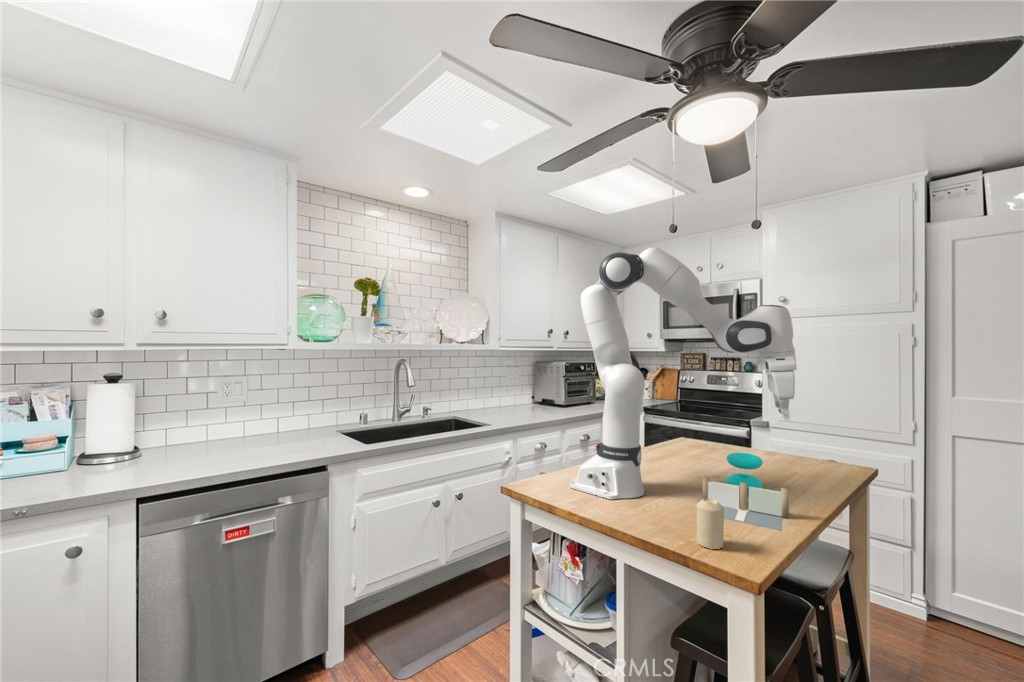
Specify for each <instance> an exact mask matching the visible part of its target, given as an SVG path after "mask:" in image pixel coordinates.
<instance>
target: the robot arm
mask: <svg viewBox="0 0 1024 682" xmlns="http://www.w3.org/2000/svg"><path fill="white" fill-rule="evenodd" d="M635 283H641V284H644V285H645V286H647V287H649V288H650V289H651V290H653V291H654V292H655V293H656V294H657V295H658V296H659V297H660V298H662V299H663V300H666V301H667V302H668V303H670V304H671V305H674V306H675V307H677V308H680V309H681V310H682V311H684V312H685V313H687V314H688V315H690V316H691V317H692V318H693V319H694V320H696V321H697V322H698V323H699V324H700V325H701V326H702V327H704V328H705V329H706V330H707V331H708V333H709V334H710V335H711V337H712V339H713V341H714V343H715V345H716V346H717V347H718V349H720V350H721V351H723V352H726V353H730V354H731V353H732V354H733V353H737V354H739V353H740V354H746V353H751V352H754V351H758V361H759V368H760V370H765V374H766V375H767V377H766V378H767V387H768V388H767V389H768V390H769V391H770V392H771V393H772V395H773V396H772V397H773V399H774V406H775V408H777V409H780V411H779V412H780V413H781V414H782V415H789V413H790V409H789V407H790V400H794V398H795V394H796V392H795V388H796V387H795V386H796V383H795V382H796V381H795V380H796V379H795V371H796V370H797V369H798V368H797V360H796V350H795V346H794V343H793V339H794V329H793V327H794V326H793V321H792V317H791V314H790V311H789V309H788V308H786V307H785V306H784V305H783V306H782V305H776V304H763V305H759V306H757V307H756V308H755V309H754V310H753V311H751V312H750V313H748V314H746V315H743V316H742V317H739V318H737V319H732V318H730V317H728V316H727V317H726V316H725V315H724V314H722V313H721V312H720V310H718V309H717V308H716V307H715V306H713V305H712V304H711V303H710V302H708V301H707V299H706V298H705V296H703V293H702V290H701V283H700V279H699V278H698V277H697V275H696V274H695V273H694V272H693V271H692V270H691V269H690V268H689V267H688V266H686V265H685V264H684V263H683V262H681V261H680V260H679V259H677V258H676V257H674V256H673V255H671V254H670V253H668V252H666V251H665V250H663V249H661V248H659V247H653V246H651V247H648V248H646V249H644V250H642V252H640V253H639V254H633V253H627V252H620V251H619V252H613V253H611V254H608V255H607V256H606V257H604V259H602V261H601V262H600V265H599V270H598V281H597V282H596V283H595V284H594V283H593V284H592V285H589V286H587V287H586V288H585V289H584V290H583V291H582V292H581V294H580V307H581V312H582V313H581V314H582V318H583V322H584V325H585V329H586V332H587V335H588V339H589V341H590V346H591V348H592V352H593V353H592V354H593V356H594V361H595V364H596V365H595V367H596V369H597V373H598V377H599V381H600V385H601V386H602V389H603V390H604V394H605V395H604V407H603V414H602V425H601V426H602V430H601V431H602V433H601V434H602V436H601V437H602V440H600V441H599V443H597V444H596V445H595V446H594V451H596V454H594V455H593V456H591V457H590V458H588V459H587V460H586V461H583V463H582V464H581V465H579V467H578V469H577V474H576V475H577V476H576V477H574V478H572V479H571V480H570V482H569V488H570V489H574V490H577V491H581V492H583V493H586V494H590V495H594V496H596V495H597V497H600V498H603V497H604V498H603V499H606V498H607V499H608V500H617V499H634V498H640V497H642V496H644V495H645V493H646V491H645V487H644V484H643V479H642V472H641V463H642V445H640V440H641V439H640V433H641V432H640V431H641V430H640V429H641V427H640V426H641V423H640V422H641V412H642V407H643V400H644V391H645V387H646V382H645V381H646V380H645V378H644V374H643V372H642V371H641V370H640V369H639V368H637V366H635V365H633V362H632V357H631V353H630V347H629V337H628V335H627V332H626V329H625V325H624V322H623V318H622V316H621V312H620V309H619V304H618V295H620V294H622V293H623V292H625V291H627V290H628V289H629V288H631V287H632V285H634V284H635Z"/></svg>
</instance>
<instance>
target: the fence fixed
mask: <svg viewBox="0 0 1024 682" xmlns="http://www.w3.org/2000/svg"><path fill="white" fill-rule="evenodd" d="M701 486H702V488H701V489H702V490H701V492H702V494H701V495H702V496H701V500H702V499H703V498H705V499H708V498H711V499H716V500H717V501H718V502H719V503H720V504H721V505H722V506H725V507H730V508H735V509H739V508H740V509H741V510H747V502H748V491H747V483H742V482H741V483H740V486H737V485H731V484H727V483H724V482H719V481H713V480H710V477H709V476H706V475H705V476H702V485H701Z"/></svg>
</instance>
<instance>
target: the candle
mask: <svg viewBox="0 0 1024 682" xmlns="http://www.w3.org/2000/svg"><path fill="white" fill-rule="evenodd" d="M724 521H725V519H724V508H723V507H722V505H721V504H720V503H719V502H718V501H717V500H716V499H711V498H708V499H705V498H703V499H702V498H701V500H700V501H699V502H698V503H697V504H696V543H697V545H698V544H700V545H701V546H700V545H699V546H700V547H702V546H703V547H702V548H704V547H706V548H705V549H707V548H711V549H710V550H712V549H719V550H721V549H720V548H722V547H723V548H724V540H725V539H724V535H725V534H724V533H725V532H724ZM723 548H722V549H723Z"/></svg>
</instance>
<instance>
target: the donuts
mask: <svg viewBox="0 0 1024 682" xmlns="http://www.w3.org/2000/svg"><path fill="white" fill-rule="evenodd" d="M726 461H727V463H728V464H729V465H731V466H732V467H734V468H737V469H742V470H748V471H749V470H757V469H760V468H761V467H762V466H763V459H762V458H761V457H760V456H758V455H756V454H752V453H745V452H731V453H729V454H727V456H726ZM741 482H742V483H747V492H749V486H750V487H755V488H761V489H763V482H762V481H761V479H759V478H758V477H757V476H754V475H752V474H748V473H732V474H730V475H728V476H727V478H726V484H731V485H737V486H740V483H741Z"/></svg>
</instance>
